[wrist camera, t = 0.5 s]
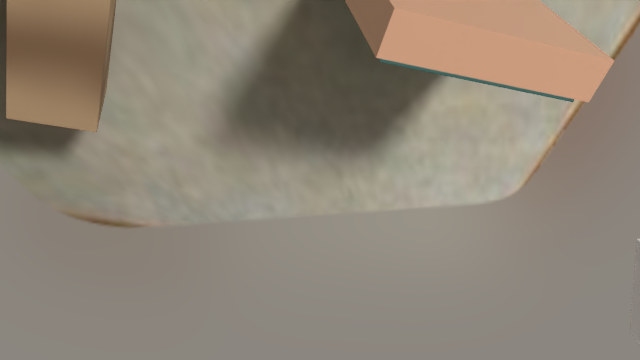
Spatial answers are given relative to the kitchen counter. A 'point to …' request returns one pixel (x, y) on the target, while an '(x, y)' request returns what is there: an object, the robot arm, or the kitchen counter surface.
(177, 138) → the kitchen counter surface
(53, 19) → the walnut stick
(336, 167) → the kitchen counter surface
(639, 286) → the robot arm
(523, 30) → the terracotta tile
